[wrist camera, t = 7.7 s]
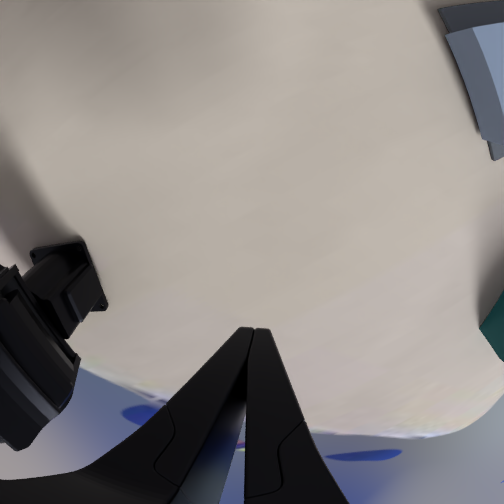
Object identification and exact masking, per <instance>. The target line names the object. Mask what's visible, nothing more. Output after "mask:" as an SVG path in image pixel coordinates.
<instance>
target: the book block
mask: <svg viewBox="0 0 504 504" xmlns="http://www.w3.org/2000/svg"><path fill="white" fill-rule="evenodd" d="M445 37H446V39H447V41H448V43H449V45H450V48H451V50H452V52H453V54H454V57H455V59H456V62H457V64H458V67H459V69H460V72H461V74H462V77H463V79H464V82H465V85H466V88H467V91H468V93H469V96H470V99H471V102H472V106H473V109H474V112H475V115H476V119H477V122H478V126H479V129H480V133H481V137H482V139H483V140H487V141H490V142H493V143H497V144H500V145H503V146H504V22H503V23H496V24H490V25H484V26H478V27H473V28H469V29H465V30H461V31H457V32H453V33H449V34H446V35H445Z"/></svg>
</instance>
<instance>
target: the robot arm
mask: <svg viewBox="0 0 504 504" xmlns="http://www.w3.org/2000/svg"><path fill="white" fill-rule="evenodd" d="M79 246H80V247H81V249H80V248H79ZM30 257H31V259H32V262H33V264H34V266H33V267H32V268H31V269H30V270H29V271H28V272H26V273H25V274H24V275H23V276H22V277H21V275H20V273H19V272H18V271H19V269H18V268H17V266H16V264H15V265H13V266H11V267H10V268H8V267H4V266H2V265H0V443H6V444H7V445H8V446H10V447H11V448H12V449H13V450H14V451H20V450H22V449H25V448H27V447H29V446H30V445H31V443H32V442H33V440H34V439H35V438H36V436H37V435H38V433H39V432H40V431H41V430H42V428H43V427H44V426H46V424H48V423H49V422H50V421H51V420H52V419H53V418H55V417H56V416H57V415H59V414H60V413H61V412H62V411H63V410H64V408H65V407H66V406H67V405H68V403H69V401H70V399H71V397H72V394H73V390H74V386H75V381H76V377H77V373H78V368H79V365H80V361H81V358H80V357H79V356H78V354H77V353H75V352H74V351H73V350H72V349H71V347H70V346H69V345H68V343H67V342H66V341H65V340H64V339H69V338H70V336H71V335H72V333H73V332H74V330H75V329H76V327H77V326H78V324H79V323H80V322H83V320H84V319H85V317H86V316H87V315H88V313H89V312H94V311H106V309H107V308H108V302H107V300H106V298H105V295H104V293H103V290H102V287H101V285H100V282H99V279H98V277H97V274H96V272H95V269H94V267H93V264H92V261H91V258H90V256H89V253H88V250H87V247H86V245H85V243H84V242H83V241H80V240H79V241H73V242H67V243H61V244H55V245H50V246H44V247H38V248H34V249H32V250H31V251H30ZM101 304H102V305H103V306H102V305H101ZM245 414H246V431H245V479H244V480H245V481H244V504H349V502H348V501H347V499H346V497H345V496H344V494H343V492H342V491H341V489H340V488H339V486H338V484H337V483H336V481H335V479H334V478H333V476H332V474H331V473H330V471H329V469H328V468H327V466H326V464H325V463H324V461H323V459H322V457H321V455H320V453H319V451H318V449H317V448H316V445H315V443H314V440H313V438H312V436H311V434H310V431H309V429H308V426H307V423H306V422H305V419H304V416H303V414H302V411H301V408H300V406H299V403H298V401H297V398H296V396H295V393H294V390H293V388H292V385H291V383H290V380H289V377H288V375H287V372H286V370H285V367H284V364H283V362H282V359H281V357H280V354H279V351H278V349H277V346H276V343H275V341H274V338H273V336H272V333H271V331H270V329H266V328H256V329H254V328H252V327H239V328H238V329H237V330H236V331H235V332H234V334H233V335H232V336H231V337H230V338H229V339H228V340H227V341H226V342H225V343H224V344H223V345H222V346H221V347H220V348H219V349H218V351H217V352H216V353H215V354H214V355H213V356H212V357H211V358H210V359H209V360H208V361H207V362H206V363H205V364H204V365H203V366H202V367H201V368H200V369H199V370H198V371H197V372H196V373H195V374H194V375H193V377H192V378H191V379H190V380H189V381H188V382H187V383H186V384H185V385H184V386H183V387H182V388H181V389H180V390H179V391H178V392H177V393H176V394H175V395H174V396H173V397H172V398H171V399H170V400H169V401H168V402H167V403H166V405H164V406H163V407H162V408H161V409H160V410H159V411H158V412H157V413H156V414H155V415H154V416H152V417H151V418H150V419H149V420H148V421H147V422H146V423H145V424H144V425H143V426H141V427H140V428H139V429H138V430H137V431H135V432H134V433H133V434H131V435H130V436H129V437H128V438H126V439H125V440H124V441H122V442H121V443H120V444H118V445H117V446H115V447H114V448H113V449H111V450H110V451H109V452H107V453H106V454H104V455H103V456H102V457H100V458H99V459H97V460H96V461H94V462H93V463H91V464H90V465H88V466H86V467H84V468H82V469H79V470H77V471H74V472H69V473H64V474H57V475H51V476H44V477H36V478H27V479H16V480H1V479H0V504H219V501H220V498H221V495H222V492H223V488H224V485H225V482H226V479H227V475H228V472H229V469H230V466H231V462H232V459H233V455H234V452H235V449H236V445H237V442H238V438H239V435H240V431H241V428H242V424H243V421H244V417H245Z"/></svg>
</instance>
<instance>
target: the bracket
mask: <svg viewBox="0 0 504 504" xmlns="http://www.w3.org/2000/svg"><path fill="white" fill-rule="evenodd" d="M479 329H480V331H481V332H482V333H483V335H484V336H485V338H486V339H487V340H488V342H489V343H490V345H491V346H492V348H493V349H494V351H495V352H496V354H497V355H498V357H499V358H500V359H501V360H502V361H503V362H504V291H503V293H502V294H501V296H500V298H499V299H498V301H497V302H496V304H495V306H494V307H493V309H492V310H491V312H490V313H489V315H488V316H487V318H486V319H485V321H484V322H483V324H482V325H481V327H480V328H479Z"/></svg>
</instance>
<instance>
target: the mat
mask: <svg viewBox="0 0 504 504" xmlns="http://www.w3.org/2000/svg"><path fill="white" fill-rule="evenodd" d="M438 11H439V13H440V15H441V17H442V19H443V21H444V23H445V25H446V27H447V29H448V31H449V33H453V32H457V31H461V30H465V29H469V28H473V27H478V26H484V25H490V24H496V23H503V22H504V0H502V1H489V2H480V3H471V4H464V5H457V6H451V7H445V8H440V9H438ZM488 145H489V149H490V154H491V158H492V160H493V161H496V160H498V159H500V158H502V157H504V146H503V145H500V144H497V143H493V142H490V141H488Z"/></svg>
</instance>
